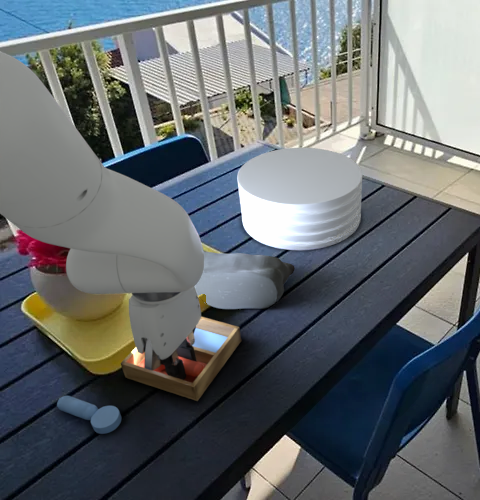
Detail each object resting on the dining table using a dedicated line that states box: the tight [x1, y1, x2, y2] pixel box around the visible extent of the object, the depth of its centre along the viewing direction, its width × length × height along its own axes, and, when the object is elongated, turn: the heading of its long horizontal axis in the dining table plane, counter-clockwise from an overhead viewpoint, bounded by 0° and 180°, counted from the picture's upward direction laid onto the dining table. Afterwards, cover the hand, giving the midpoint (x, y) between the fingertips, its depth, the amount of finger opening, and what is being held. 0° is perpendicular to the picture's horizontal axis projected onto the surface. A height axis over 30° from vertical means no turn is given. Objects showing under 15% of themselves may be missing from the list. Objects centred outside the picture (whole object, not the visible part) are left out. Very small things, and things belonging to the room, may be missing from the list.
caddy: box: [120, 316, 242, 402], centre depth 81 cm, size 13×13×3 cm
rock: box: [194, 251, 296, 310], centre depth 94 cm, size 18×11×8 cm, turn 89°
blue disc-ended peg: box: [56, 395, 122, 435], centre depth 72 cm, size 10×4×2 cm, turn 71°
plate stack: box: [236, 147, 363, 251], centre depth 116 cm, size 28×28×12 cm
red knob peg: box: [153, 356, 204, 377], centre depth 78 cm, size 10×4×2 cm, turn 71°
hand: (182, 368), depth 79 cm, fingers closed on red knob peg, 2 cm apart
